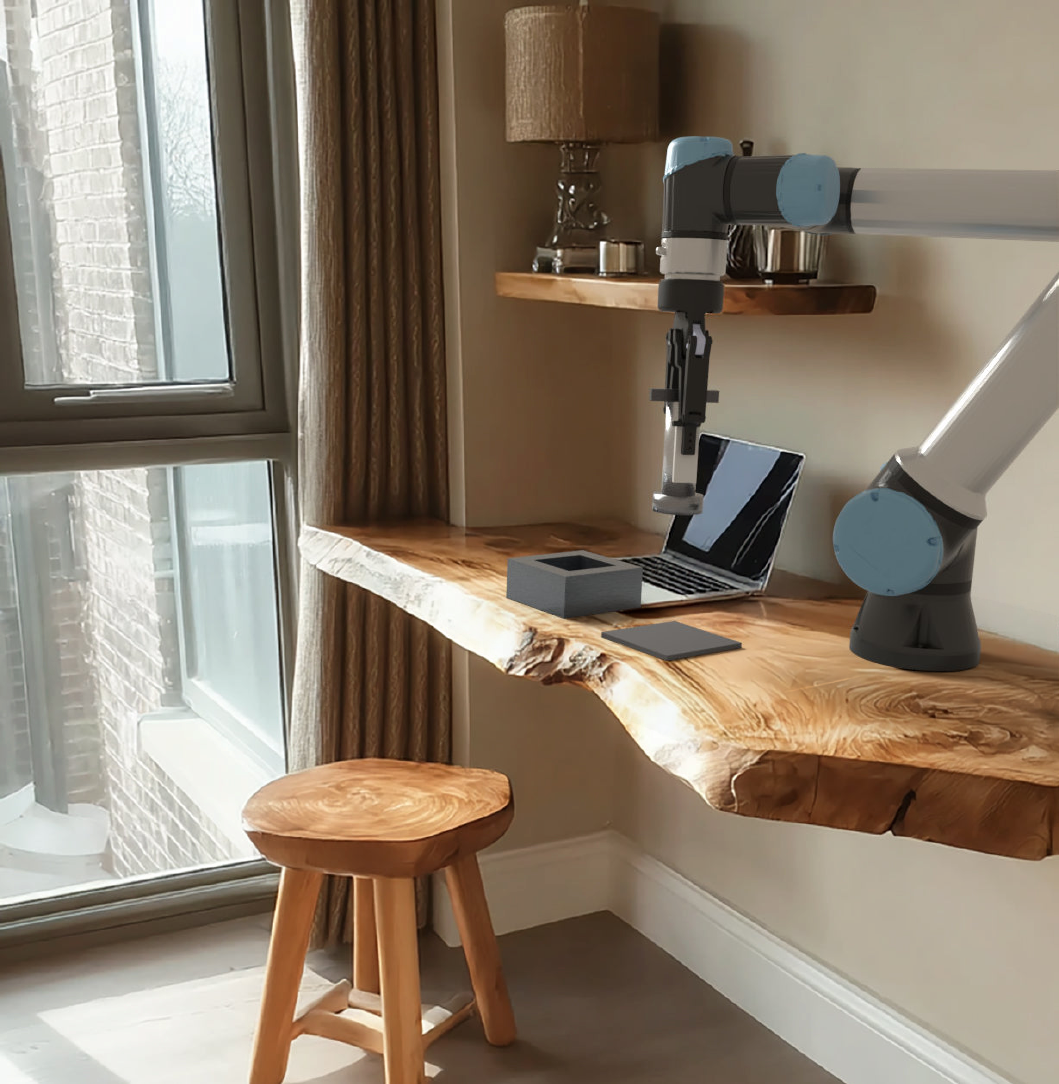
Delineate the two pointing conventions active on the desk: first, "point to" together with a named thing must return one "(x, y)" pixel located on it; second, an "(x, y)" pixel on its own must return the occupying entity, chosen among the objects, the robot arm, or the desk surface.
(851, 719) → the desk surface
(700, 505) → the chuck key
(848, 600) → the desk surface
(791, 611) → the desk surface
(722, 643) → the mat
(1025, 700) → the desk surface
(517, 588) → the block
